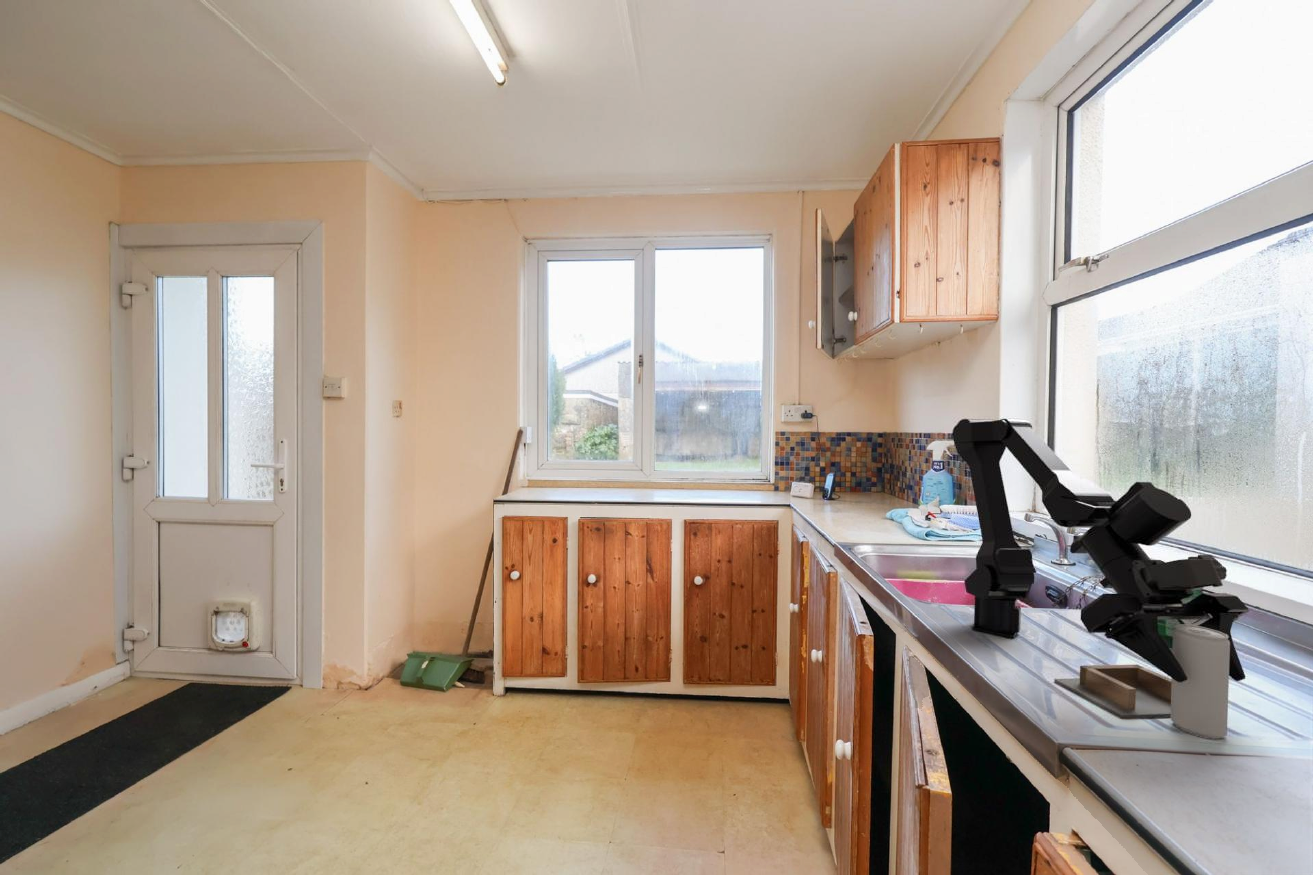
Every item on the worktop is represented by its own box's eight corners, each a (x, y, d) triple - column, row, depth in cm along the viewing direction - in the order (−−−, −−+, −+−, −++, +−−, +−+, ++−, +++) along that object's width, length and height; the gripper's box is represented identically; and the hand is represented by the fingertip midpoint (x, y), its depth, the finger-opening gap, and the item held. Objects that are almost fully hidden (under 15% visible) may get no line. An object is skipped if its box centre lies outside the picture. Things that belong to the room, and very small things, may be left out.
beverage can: (1238, 744, 62) (1242, 640, 62) (1189, 738, 63) (1193, 636, 63) (1205, 722, 67) (1208, 626, 67) (1160, 717, 68) (1163, 622, 67)
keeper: (1054, 681, 77) (1054, 661, 77) (1141, 679, 78) (1142, 659, 78) (1121, 718, 67) (1122, 695, 67) (1220, 715, 68) (1221, 692, 68)
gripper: (1103, 530, 68) (1197, 653, 57) (1233, 531, 70) (1348, 650, 59) (1049, 576, 75) (1122, 692, 64) (1167, 576, 77) (1258, 688, 66)
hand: (1212, 680), depth 63 cm, fingers open, 7 cm apart
